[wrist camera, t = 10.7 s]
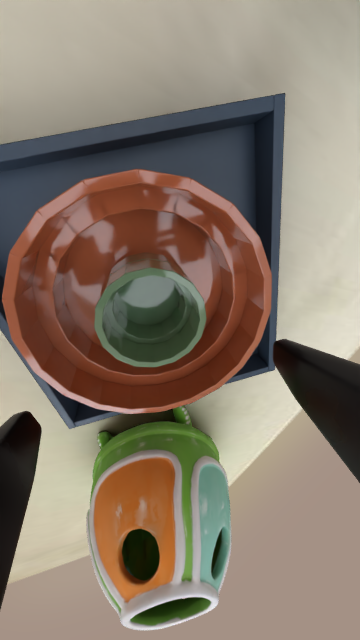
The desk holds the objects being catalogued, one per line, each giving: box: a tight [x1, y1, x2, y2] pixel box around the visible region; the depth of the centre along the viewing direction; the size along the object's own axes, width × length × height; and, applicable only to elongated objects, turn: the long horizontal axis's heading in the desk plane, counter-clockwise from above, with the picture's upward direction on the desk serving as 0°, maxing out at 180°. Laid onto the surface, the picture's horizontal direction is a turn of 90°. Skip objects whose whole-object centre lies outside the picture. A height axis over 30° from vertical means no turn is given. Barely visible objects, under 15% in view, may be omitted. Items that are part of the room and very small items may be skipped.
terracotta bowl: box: [2, 169, 272, 414], centre depth 14 cm, size 14×14×5 cm
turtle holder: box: [87, 406, 231, 630], centre depth 21 cm, size 12×18×12 cm
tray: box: [0, 93, 285, 429], centre depth 16 cm, size 18×18×2 cm
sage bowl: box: [94, 252, 207, 367], centre depth 14 cm, size 6×6×4 cm
